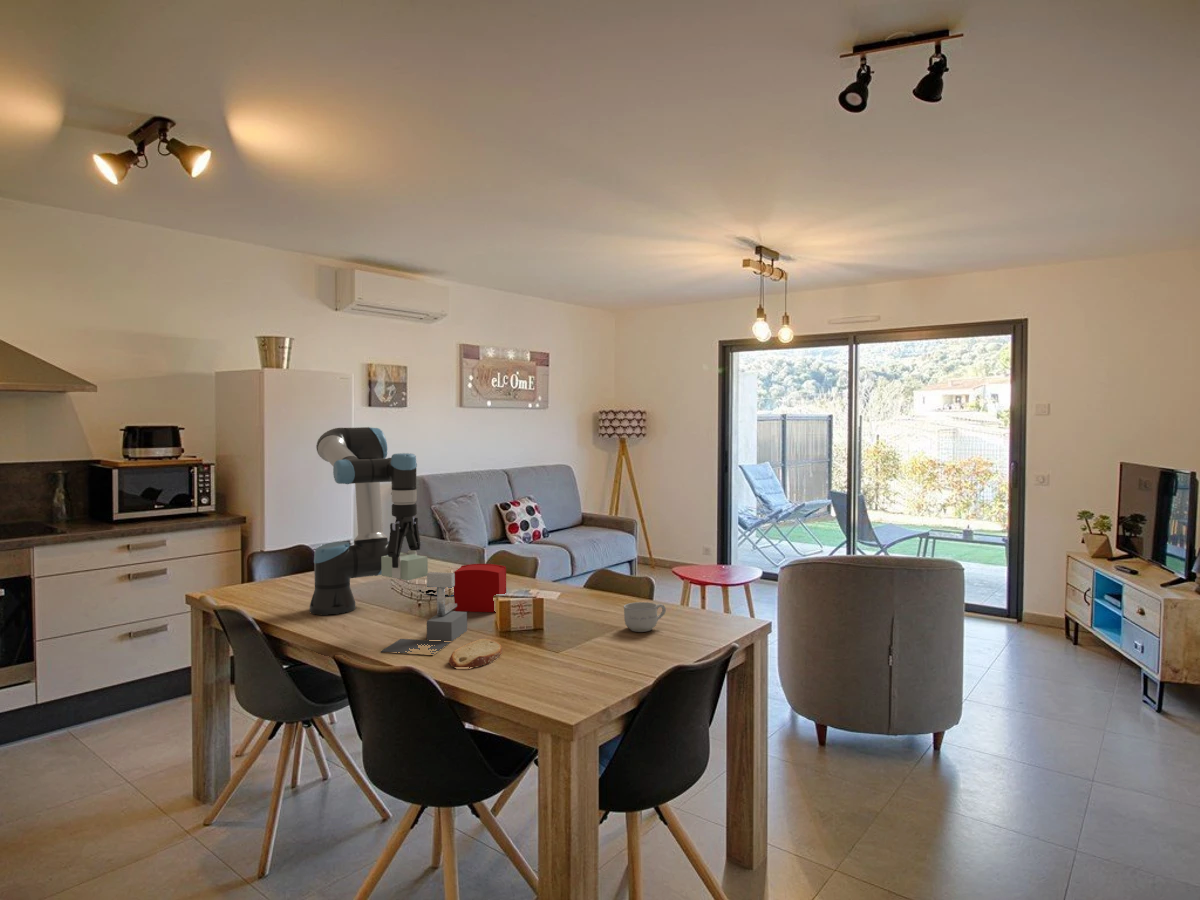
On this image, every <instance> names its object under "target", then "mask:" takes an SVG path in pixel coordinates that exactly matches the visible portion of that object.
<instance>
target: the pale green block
mask: <svg viewBox="0 0 1200 900" xmlns="http://www.w3.org/2000/svg"><path fill="white" fill-rule="evenodd" d="M399 557H401V578H396V579H397V580H403V581H412V580H416V579H420V578H424V577H427V573H429V571H428V570H429V567H428V564H429V562H428V560H429V559H428V556H427V555H426V556H425V555H420V554H417V555H414V554H408V552H407V553H406V552H400V556H399ZM381 570H382V575H381V577H386V578H392V557H388V555H387V556H382V557H381Z"/></svg>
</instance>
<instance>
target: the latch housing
mask: <svg viewBox="0 0 1200 900" xmlns="http://www.w3.org/2000/svg"><path fill="white" fill-rule="evenodd" d="M464 632H465V633H466V632H468V612H465V611H453V610H451V611H450V612H448V613H447V614H445V615H444V616H437V614H436V615H434V616H432V617H430V618H429V619H427V620H426V640H427V639H428V640H441V641H453V640H454V639H455V640H457V639H458V638H459V637H461V636H462V635H464V634H465V633H464ZM461 634H462V635H461ZM460 635H461V636H460ZM457 637H458V638H457ZM456 638H457V639H456ZM455 640H454V641H455ZM454 641H453V642H454Z"/></svg>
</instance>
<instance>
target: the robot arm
mask: <svg viewBox="0 0 1200 900" xmlns="http://www.w3.org/2000/svg"><path fill="white" fill-rule="evenodd" d="M315 448H316V452H317V454H318V456H319V457H320V458H321V459H322V460H323V461H325V462H327V463H329V464H330V465H331V466H332V467H333V468H332V470H333V472H332V475H333V479H334V481H335V483H336V484H338V485H339V484H341V485H342V484H343V485H351V484H353V485H354V486H355V501H356V502H355V503H356V504H355V505H356V507H355V508H356V521H357V536H356V537H355V538H354V539H353V544H352V545H351V544H350V542H349V541H344V540H343V541H335V542H329V543H325V544H323V545H320V546H317V548H315V551H314V556H313V563H314V567H313V568H314V569H313V570H314V571H313V573H314V591H313V593H312V598H311V599H310V603H309V613H310V612H311V613H314V614H313V615H315V614H322V615H321V616H329V615H328V614H336V615H340V614H339V613H342V614H346V613H345V612H347V613H350V612H352V611H354V610H356V608H357V607H356V606H357V605H356V600H355V596H354V593H353V592H352V589H351V579H358V578H366V577H373V576H374V577H376V576H377V577H378V576H382V570H381V557H382V556H387V555H388V557H392V577H391V578H392V579H397V578H401V557H399V556H400V553H402V552H401V551H402V547H403V542H404V538H406V542H407V545H408V548H409V550H407V553H408V554H414V555H418V551H419V550H421V540H420V539H421V538H420V533H419V532H420V531H419V520H418V518H419V517H414V516H417V515H418V514H417V512H418V511H417V506H418V505H417V503H416V502H417V499H418V496H417V495H418V494H417V493H418V492H417V491H418V490H417V467H418V464H417V455H415V454H414V453H409V452H407V453H405V452H402V453H393V454H392V455H391V457H388V442H387V439H386V436H385V433H384V432H383V430H382V429H381V428H378V427H369V426H367V427H335V428H332V429H329V430H327V431H326V432H323V434H321V435H320V437H319V438H318V440H317V442H316V446H315ZM390 482H391V493H390V495H391V502H392V505H391V516H392V517H395V522H394V523H393V522H391V523H390V524H389V530H390V531H389V538H388V536H387V535H386V534H385V533H384V532H383V531H384V530H383V529H384V528H383V516H382V515H383V514H382V497H381V483H390ZM349 611H350V612H349ZM311 613H310V614H311Z"/></svg>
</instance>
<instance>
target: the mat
mask: <svg viewBox="0 0 1200 900" xmlns="http://www.w3.org/2000/svg"><path fill="white" fill-rule="evenodd" d="M449 643H450V644H451V642H444V641H429V640H427V639H426V640H425V639H412V638H411V639H410V638H400V639H398V640H396V641H395V642H393V643H392V644H390V645H388V646H387V647H385V648H384V649H382V650H380V653H382V652H397V653H398V652H400V653H407V652H408V651H410V650H409V648H410V649H413V648H414V649H419V650H420V648H418V645H421V644H422V645H424V644H425V645H427V644H428V645H430V646H431V645H433V646H431V647H430V648H428V650H429V649H431V650H432V649H434V650H435V649H437V650H436V651H439V650H440V649H442V648H443V647H444V646H446V645H447V644H449ZM417 644H418V645H417ZM450 644H449V645H450ZM422 645H421V646H422ZM425 645H424V646H425ZM428 645H427V646H428ZM434 645H435V646H434ZM447 646H448V645H447ZM447 646H446V647H447ZM444 648H445V647H444ZM444 648H443V649H444ZM443 649H442V650H443ZM405 651H407V652H405ZM436 651H432V652H436ZM440 651H441V650H440ZM440 651H439V652H440ZM410 652H412V651H410ZM430 652H431V651H430ZM431 654H434V653H431Z"/></svg>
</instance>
